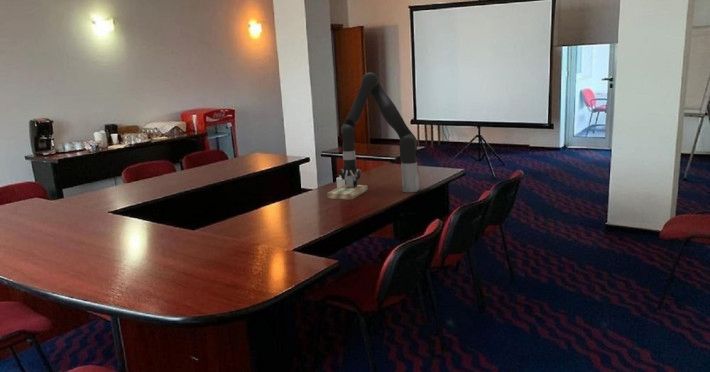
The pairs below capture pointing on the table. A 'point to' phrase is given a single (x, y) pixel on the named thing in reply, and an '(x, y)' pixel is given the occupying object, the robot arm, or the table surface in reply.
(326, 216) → the table surface
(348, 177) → the metal block
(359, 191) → the pocket board
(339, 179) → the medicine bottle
